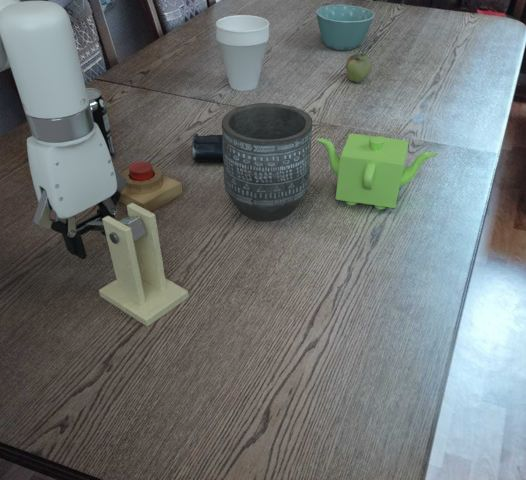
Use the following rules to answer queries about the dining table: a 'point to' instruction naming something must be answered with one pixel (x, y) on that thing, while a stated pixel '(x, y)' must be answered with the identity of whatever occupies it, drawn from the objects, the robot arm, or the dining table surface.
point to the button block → (150, 190)
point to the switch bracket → (139, 270)
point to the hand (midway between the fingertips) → (94, 244)
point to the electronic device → (207, 148)
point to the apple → (357, 67)
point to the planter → (266, 158)
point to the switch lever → (130, 221)
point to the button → (141, 171)
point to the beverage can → (101, 117)
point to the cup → (243, 48)
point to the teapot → (372, 169)
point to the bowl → (343, 25)
